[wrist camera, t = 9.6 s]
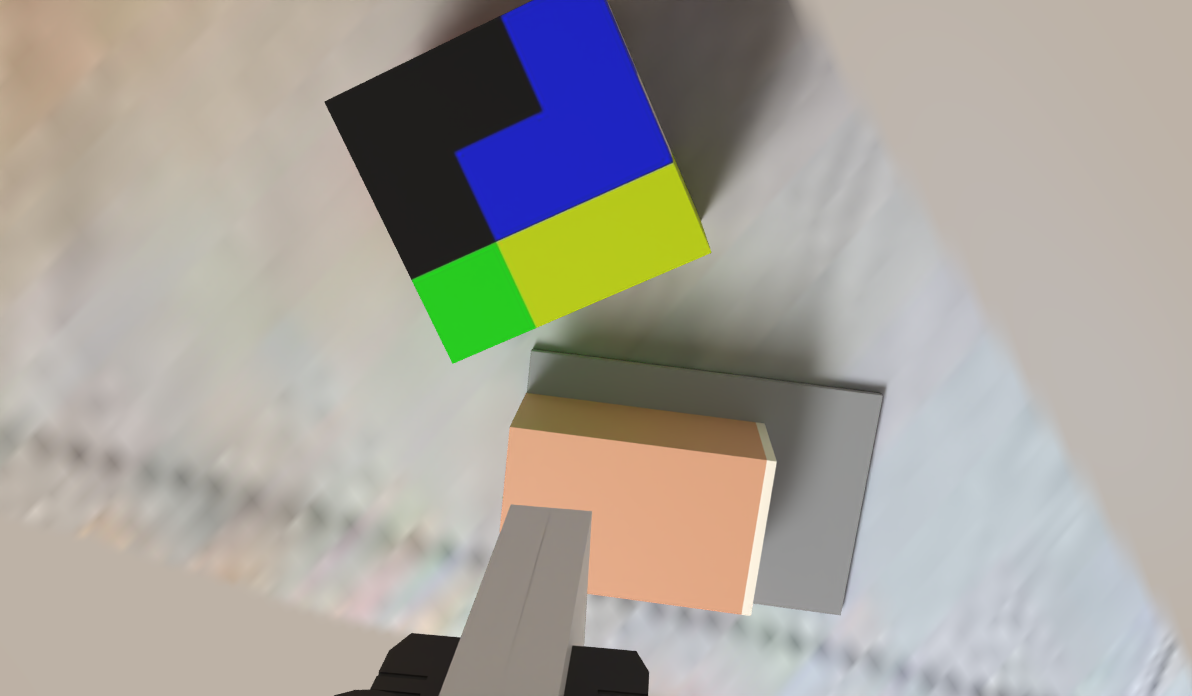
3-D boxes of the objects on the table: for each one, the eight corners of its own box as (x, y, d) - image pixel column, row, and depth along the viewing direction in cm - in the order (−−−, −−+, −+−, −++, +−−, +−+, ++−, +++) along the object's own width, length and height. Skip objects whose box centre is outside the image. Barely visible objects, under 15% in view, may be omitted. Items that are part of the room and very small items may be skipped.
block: (765, 423, 45) (526, 392, 45) (777, 461, 40) (509, 426, 40) (742, 563, 47) (512, 532, 47) (751, 616, 42) (494, 581, 42)
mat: (532, 349, 45) (531, 351, 45) (880, 393, 45) (882, 395, 44) (510, 566, 48) (509, 570, 47) (839, 611, 47) (840, 615, 47)
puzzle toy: (608, 3, 42) (592, -29, 32) (700, 220, 43) (711, 252, 34) (400, 103, 43) (324, 101, 33) (498, 308, 45) (452, 363, 35)
